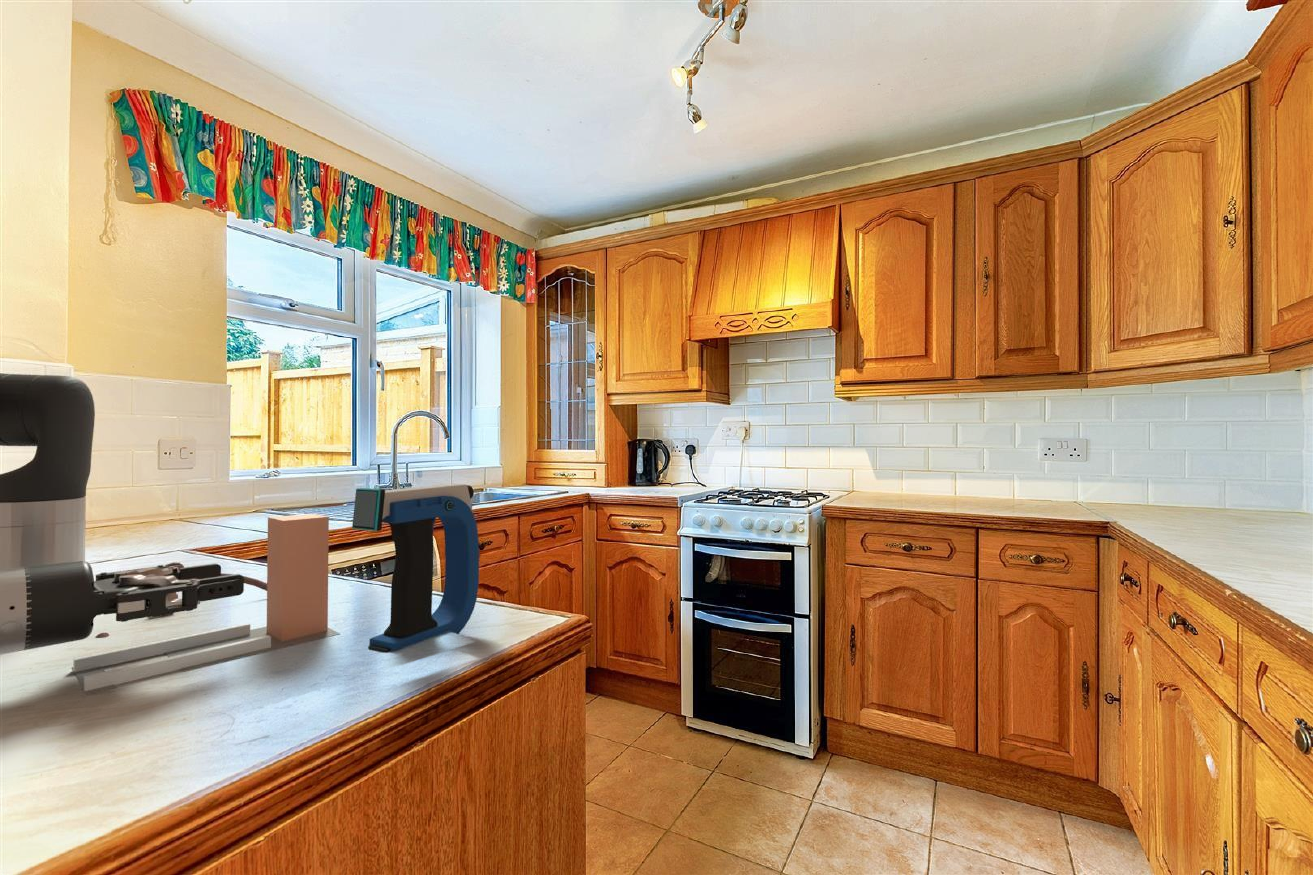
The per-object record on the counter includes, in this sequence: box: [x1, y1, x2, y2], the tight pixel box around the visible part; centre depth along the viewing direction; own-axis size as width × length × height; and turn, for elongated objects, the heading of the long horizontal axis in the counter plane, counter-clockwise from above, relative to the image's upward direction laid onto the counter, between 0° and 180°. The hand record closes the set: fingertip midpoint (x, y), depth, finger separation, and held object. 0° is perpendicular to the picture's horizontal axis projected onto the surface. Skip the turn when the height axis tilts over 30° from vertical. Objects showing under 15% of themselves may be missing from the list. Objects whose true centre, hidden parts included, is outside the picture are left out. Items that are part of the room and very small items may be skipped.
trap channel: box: [71, 622, 341, 696], centre depth 64 cm, size 10×22×3 cm, turn 141°
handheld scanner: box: [351, 483, 480, 653], centre depth 70 cm, size 5×16×20 cm, turn 155°
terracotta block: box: [266, 513, 330, 641], centre depth 71 cm, size 5×5×14 cm
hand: (230, 577), depth 65 cm, fingers open, 8 cm apart
